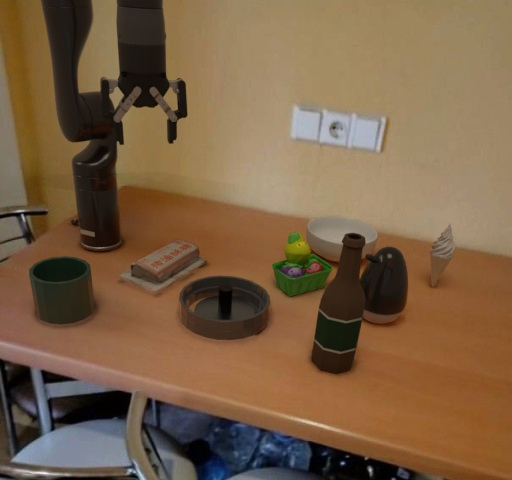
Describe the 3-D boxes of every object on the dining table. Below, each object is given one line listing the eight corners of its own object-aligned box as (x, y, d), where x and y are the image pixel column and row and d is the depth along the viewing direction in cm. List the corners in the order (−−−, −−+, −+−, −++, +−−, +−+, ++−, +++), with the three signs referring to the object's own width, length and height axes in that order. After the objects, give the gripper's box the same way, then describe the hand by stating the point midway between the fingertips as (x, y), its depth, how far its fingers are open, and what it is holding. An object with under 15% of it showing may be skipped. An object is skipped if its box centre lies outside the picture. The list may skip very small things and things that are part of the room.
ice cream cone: (445, 284, 127) (464, 222, 118) (442, 294, 123) (460, 230, 114) (423, 278, 128) (440, 216, 120) (419, 288, 124) (435, 224, 116)
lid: (188, 302, 112) (188, 275, 108) (244, 297, 115) (246, 270, 112) (202, 335, 103) (202, 306, 99) (262, 327, 106) (264, 300, 103)
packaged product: (172, 232, 128) (207, 244, 124) (172, 252, 131) (207, 264, 127) (117, 261, 115) (155, 275, 111) (119, 281, 118) (156, 296, 114)
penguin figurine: (341, 307, 115) (353, 239, 107) (384, 300, 119) (399, 233, 110) (366, 334, 107) (382, 262, 99) (412, 326, 111) (430, 256, 102)
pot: (36, 300, 110) (29, 258, 105) (92, 295, 113) (88, 254, 108) (36, 329, 101) (28, 286, 96) (97, 323, 104) (92, 280, 99)
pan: (172, 299, 113) (171, 279, 111) (253, 291, 118) (254, 272, 116) (189, 347, 100) (189, 326, 97) (280, 336, 105) (282, 315, 102)
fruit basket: (288, 300, 116) (293, 251, 110) (265, 282, 122) (269, 233, 116) (331, 289, 121) (339, 241, 115) (307, 271, 127) (313, 225, 121)
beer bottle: (307, 348, 102) (325, 225, 89) (349, 348, 103) (373, 226, 90) (314, 374, 96) (334, 246, 82) (358, 375, 97) (386, 247, 83)
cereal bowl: (366, 278, 127) (372, 249, 123) (295, 263, 130) (298, 235, 126) (377, 249, 140) (383, 222, 136) (313, 236, 144) (316, 209, 140)
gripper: (181, 37, 94) (182, 136, 103) (93, 34, 90) (102, 138, 99) (190, 44, 88) (190, 148, 97) (97, 41, 84) (106, 150, 93)
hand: (146, 143), depth 98 cm, fingers open, 8 cm apart
